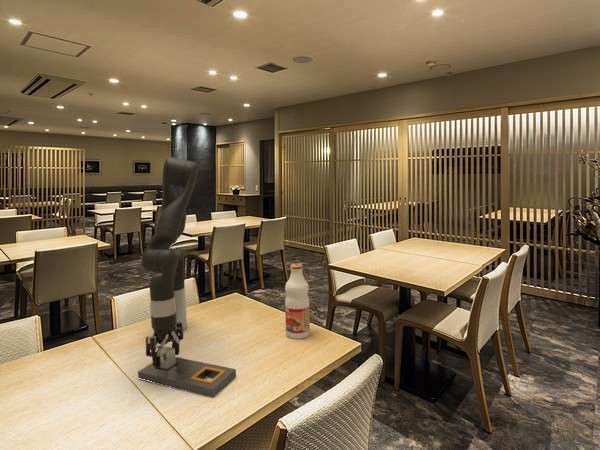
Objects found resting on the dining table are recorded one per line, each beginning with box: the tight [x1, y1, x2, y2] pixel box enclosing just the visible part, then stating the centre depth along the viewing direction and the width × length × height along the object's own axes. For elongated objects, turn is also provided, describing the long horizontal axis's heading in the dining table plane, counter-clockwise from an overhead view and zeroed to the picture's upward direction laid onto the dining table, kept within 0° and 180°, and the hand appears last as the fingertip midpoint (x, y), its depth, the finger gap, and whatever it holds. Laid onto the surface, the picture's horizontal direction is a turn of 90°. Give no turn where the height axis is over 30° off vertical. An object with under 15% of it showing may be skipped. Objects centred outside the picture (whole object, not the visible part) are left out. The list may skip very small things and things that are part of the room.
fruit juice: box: [284, 263, 311, 340], centre depth 149 cm, size 9×9×28 cm
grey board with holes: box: [137, 356, 237, 398], centre depth 120 cm, size 28×12×3 cm, turn 68°
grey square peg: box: [155, 345, 176, 371], centre depth 122 cm, size 4×4×8 cm
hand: (166, 360), depth 122 cm, fingers open, 8 cm apart
